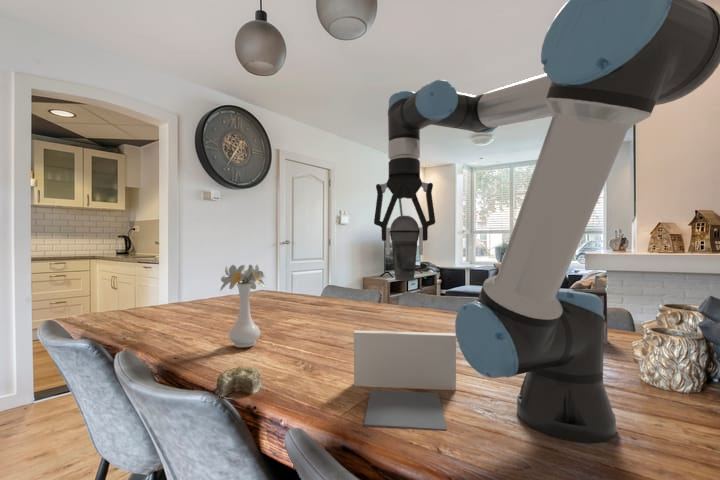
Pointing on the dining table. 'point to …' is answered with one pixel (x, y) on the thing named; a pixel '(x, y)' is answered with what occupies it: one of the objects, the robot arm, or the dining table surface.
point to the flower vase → (243, 303)
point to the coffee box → (603, 296)
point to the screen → (405, 359)
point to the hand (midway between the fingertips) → (404, 254)
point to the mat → (405, 410)
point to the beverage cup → (404, 246)
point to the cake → (238, 381)
